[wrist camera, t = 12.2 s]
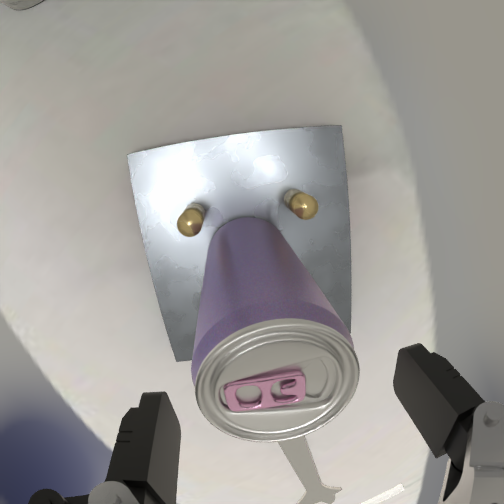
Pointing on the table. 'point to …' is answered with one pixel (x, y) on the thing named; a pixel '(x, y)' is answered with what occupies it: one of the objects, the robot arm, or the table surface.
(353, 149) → the table surface
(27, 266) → the table surface
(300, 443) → the wrench
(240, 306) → the beverage can
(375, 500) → the white plastic blade
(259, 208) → the chassis plate
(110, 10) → the table surface
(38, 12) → the table surface
